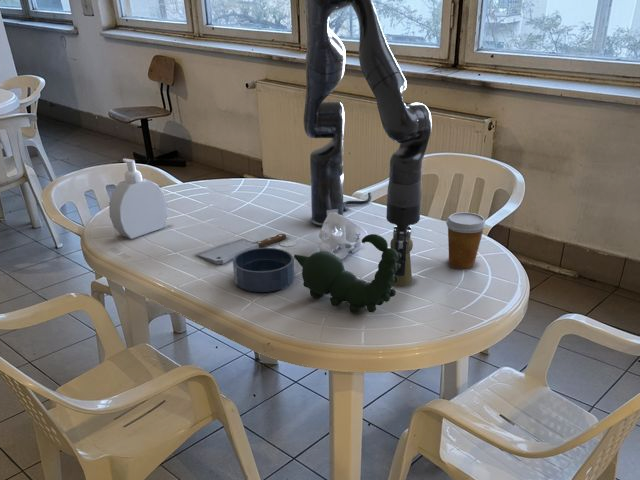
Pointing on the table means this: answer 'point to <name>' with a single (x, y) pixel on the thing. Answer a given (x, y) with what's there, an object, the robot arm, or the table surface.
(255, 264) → the bowl
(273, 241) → the kitchen cleaver
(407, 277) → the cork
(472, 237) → the disposable coffee cup
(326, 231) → the skull bowl
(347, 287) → the toy figurine
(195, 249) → the table surface
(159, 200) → the soap bottle
